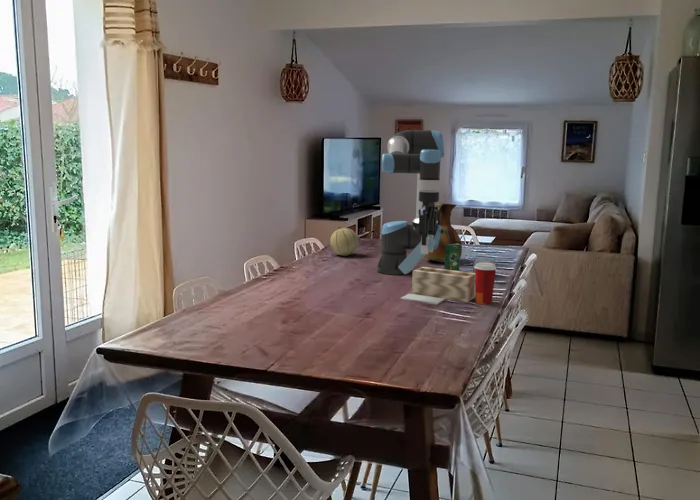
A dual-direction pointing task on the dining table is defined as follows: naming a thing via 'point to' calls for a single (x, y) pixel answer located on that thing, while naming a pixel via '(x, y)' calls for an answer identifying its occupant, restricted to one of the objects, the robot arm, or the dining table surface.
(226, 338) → the dining table surface
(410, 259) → the bar
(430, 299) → the mat
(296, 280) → the dining table surface
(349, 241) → the cantaloupe
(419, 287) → the jig
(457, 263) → the coffee box
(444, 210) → the ceramic pitcher
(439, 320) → the dining table surface
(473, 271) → the ceramic mug
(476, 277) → the coffee cup
